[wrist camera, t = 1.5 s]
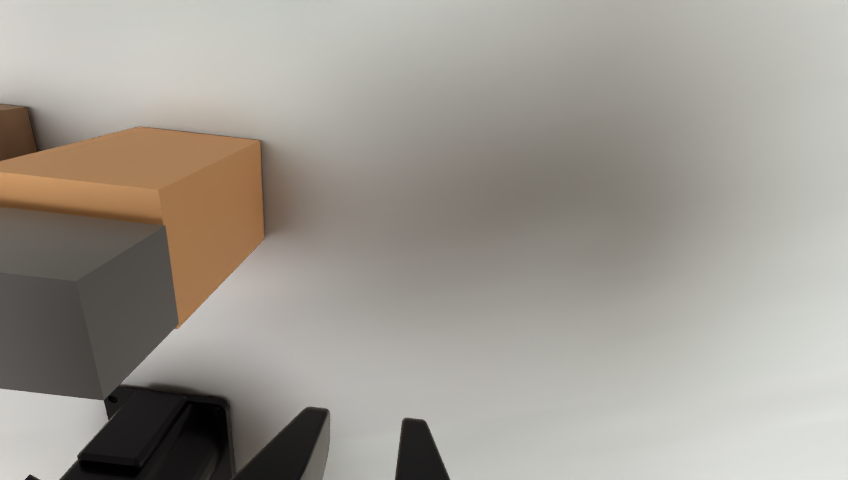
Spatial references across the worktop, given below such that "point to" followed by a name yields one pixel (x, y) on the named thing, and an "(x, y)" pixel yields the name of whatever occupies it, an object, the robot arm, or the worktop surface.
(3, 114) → the wood grain block
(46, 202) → the orange brown block
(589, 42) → the worktop surface
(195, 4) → the worktop surface
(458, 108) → the worktop surface
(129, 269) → the dark gray block
